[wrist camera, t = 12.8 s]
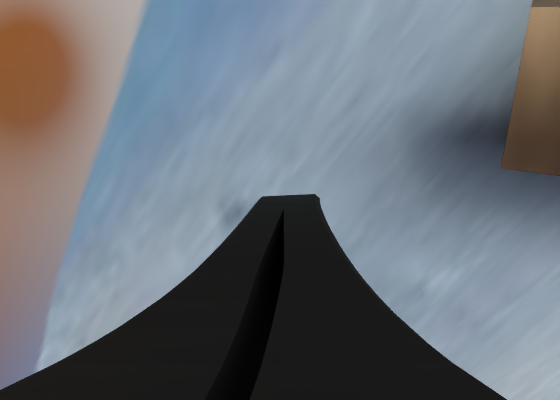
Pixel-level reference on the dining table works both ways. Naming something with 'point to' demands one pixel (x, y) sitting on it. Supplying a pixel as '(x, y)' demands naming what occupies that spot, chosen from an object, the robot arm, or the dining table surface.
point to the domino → (537, 96)
